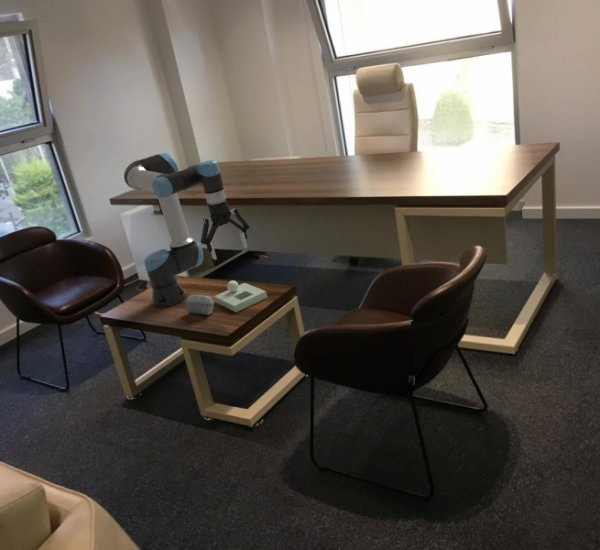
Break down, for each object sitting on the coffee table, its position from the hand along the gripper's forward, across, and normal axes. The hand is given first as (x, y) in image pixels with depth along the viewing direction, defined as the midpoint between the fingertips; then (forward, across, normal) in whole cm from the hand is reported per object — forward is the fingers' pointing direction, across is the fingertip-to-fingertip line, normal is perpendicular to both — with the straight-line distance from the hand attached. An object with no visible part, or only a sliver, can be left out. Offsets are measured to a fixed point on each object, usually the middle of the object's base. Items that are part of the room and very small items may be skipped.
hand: (230, 253), depth 234 cm
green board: (+27, +5, +15) cm, 31 cm away
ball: (+22, +4, +20) cm, 30 cm away
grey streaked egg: (+28, -12, +18) cm, 35 cm away
